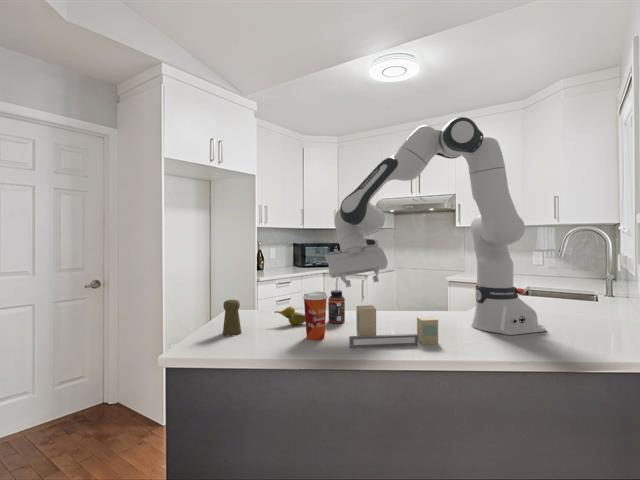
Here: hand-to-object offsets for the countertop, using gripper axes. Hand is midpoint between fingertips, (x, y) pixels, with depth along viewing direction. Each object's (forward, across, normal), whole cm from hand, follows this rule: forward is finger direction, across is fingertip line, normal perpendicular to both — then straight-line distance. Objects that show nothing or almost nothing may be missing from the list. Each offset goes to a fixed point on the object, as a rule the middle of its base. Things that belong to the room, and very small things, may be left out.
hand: (362, 284), depth 124 cm
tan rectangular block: (+18, -3, 0) cm, 19 cm away
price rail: (+22, 0, -5) cm, 23 cm away
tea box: (+23, +14, -2) cm, 27 cm away
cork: (+7, -45, +6) cm, 46 cm away
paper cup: (+14, -18, +2) cm, 24 cm away
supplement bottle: (+6, -10, +18) cm, 21 cm away
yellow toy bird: (+5, -24, +15) cm, 29 cm away
